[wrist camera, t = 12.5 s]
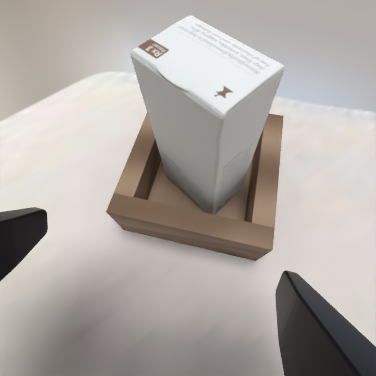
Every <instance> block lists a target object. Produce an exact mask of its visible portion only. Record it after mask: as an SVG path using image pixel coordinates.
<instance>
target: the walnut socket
mask: <svg viewBox="0 0 376 376" xmlns="http://www.w3.org/2000/svg"><path fill="white" fill-rule="evenodd" d="M282 127H283V116H280V115H274V114H268V117H267V119H266V122H265V125H264V127H263V130H262V133H261V136H260V138H259V141H258V144H257V147H256V150H255V152H254V155H253V158H252V161H251V164H250V166H249V169H248V172H247V175H246V177H245V180H244V183H243V186H242V188H241V189H240V190H239V191H238V192H237V193H236V194H235V195H234V196H233V197H232V198H231V199H230V200H229V201H228V202H227V203H226V204H225V205H224V206H223V207H222V208H221V209H220V210H219V211H218V212H217V213H216V214H215V215H213V214H209V213H206V212H205V211H204V210H203V209H202V208H201V207H199V206H198V205H197V204H196V203H195V202H194V201H193V200H192V199H191V198H190V197H189V196H188V195H187V194H186V193H185V192H183V191H182V190H181V189H180V188H179V187H178V186H177V185H176V184H175V183H174V182H173V181H172V180H171V179H170V178H169V177H167V176H166V173H165V170H164V166H163V163H162V159H161V156H160V153H159V149H158V146H157V143H156V139H155V136H154V132H153V129H152V126H151V122H150V119H149V116H148V112H147V114H146V117H145V119H144V122H143V124H142V127H141V129H140V131H139V134H138V136H137V139H136V141H135V143H134V146H133V148H132V151H131V153H130V155H129V158H128V160H127V163H126V165H125V168H124V170H123V172H122V175H121V177H120V180H119V182H118V184H117V187H116V189H115V192H114V194H113V197H112V199H111V201H110V204H109V206H108V209H107V211H106V212H107V213H108V214H109V215H110V216H111V217H112V218H113V219H114V220H115V221H116V222H117V223H118V224H119V225H120V226H121V227H122V228H123V229H124V230H128V231H132V232H137V233H141V234H145V235H149V236H154V237H158V238H162V239H166V240H170V241H175V242H179V243H183V244H187V245H192V246H196V247H200V248H204V249H209V250H213V251H217V252H221V253H225V254H230V255H234V256H238V257H242V258H247V259H251V260H255V261H256V260H258V259H259V258H261V257H262V256H264V255H265V254H267V253H269V252H270V251H272V250H273V239H274V226H275V214H276V201H277V189H278V176H279V164H280V151H281V139H282Z"/></svg>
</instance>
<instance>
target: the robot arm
mask: <svg viewBox="0 0 376 376" xmlns="http://www.w3.org/2000/svg"><path fill="white" fill-rule="evenodd" d="M47 229H48V225H47V212H46V211H45V210H44V209H40V208H36V207H33V208H26V209H19V210H12V211H6V212H0V281H1V280H2V279H3V278H4V277H5V276H6V275H8V274H9V273H10V272H11V271H12V270H13V269H14V268H15V267H16V266H17V265H18V264H19V263H20V262H21V261H22V260H23V259H24V258H25V256H26V255H27V254H28V253H29V252H30V251H31V250H32V249H33V248H34V247H35V245H36V244H37V243H38V242H39V241H40V240H41V239H42V238H43V237H44V236H45V234H46V233H47ZM276 311H277V326H278V339H279V346H280V352H281V358H282V364H283V369H284V375H285V376H376V347H375V346H374V345H373V344H372V343H371V342H370V341H369V340H368V339H367V338H366V337H365V336H364V335H363V334H361V333H360V332H359V331H358V330H357V329H356V328H355V327H354V326H353V325H352V324H351V323H350V322H349V321H348V320H347V319H345V318H344V317H343V316H342V315H341V314H340V313H339V312H338V311H337V310H336V309H335V308H334V307H333V306H332V305H330V304H329V303H328V302H327V301H326V300H325V299H324V298H323V297H322V296H321V295H320V294H319V293H318V292H317V291H315V290H314V289H313V288H312V287H311V286H310V285H309V284H308V283H307V282H306V281H305V280H304V279H303V278H302V277H300V276H299V275H298V274H297V273H294V272H290V271H284V272H283V273H282V276H281V278H280V281H279V283H278V286H277V289H276Z"/></svg>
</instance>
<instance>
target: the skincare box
mask: <svg viewBox="0 0 376 376" xmlns="http://www.w3.org/2000/svg"><path fill="white" fill-rule="evenodd" d="M131 58H132V61H133V65H134V68H135V71H136V75H137V79H138V82H139V85H140V89H141V92H142V95H143V99H144V102H145V105H146V109H147V112H148V116H149V119H150V122H151V126H152V129H153V132H154V136H155V139H156V143H157V146H158V149H159V153H160V156H161V159H162V163H163V166H164V170H165V173H166V176H167V177H169V178H170V179H171V180H172V181H173V182H174V183H175V184H176V185H177V186H178V187H179V188H180V189H181V190H182V191H183V192H185V193H186V194H187V195H188V196H189V197H190V198H191V199H192V200H193V201H194V202H195V203H196V204H197V205H198V206H199V207H201V208H202V209H203V210H204V211H205V212H206V213H209V214H213V215H215V214H216V213H217V212H218V211H219V210H220V209H221V208H222V207H223V206H224V205H225V204H226V203H227V202H228V201H229V200H230V199H231V198H232V197H233V196H234V195H235V194H236V193H237V192H238V191H239V190H240V189H241V188H242V186H243V183H244V180H245V177H246V175H247V172H248V169H249V166H250V164H251V161H252V158H253V155H254V152H255V150H256V147H257V144H258V141H259V138H260V136H261V133H262V130H263V127H264V125H265V122H266V119H267V117H268V114H269V111H270V108H271V104H272V101H273V99H274V96H275V94H276V91H277V88H278V86H279V83H280V80H281V77H282V75H283V71H284V66H283V65H282V64H280V63H278V62H276V61H274V60H272V59H270V58H269V57H266V56H265V55H263V54H261V53H259V52H257V51H256V50H254V49H252V48H250V47H248V46H246V45H245V44H243V43H241V42H239V41H237V40H235V39H233V38H232V37H230V36H228V35H226V34H224V33H222V32H221V31H219V30H217V29H215V28H213V27H211V26H210V25H208V24H206V23H204V22H202V21H200V20H198V19H197V18H195V17H193V16H192V15H191V16H188V17H186V18H184V19H182V20H180V21H178V22H177V23H175V24H173V25H172V26H170V27H169V28H167V29H165V30H164V31H162V32H161V33H159V34H158V35H156V36H154V37H153V38H151V39H150V40H148V41H146V42H145V43H143V44H142V45H140V46H138V47H137V48H135V49H133V50H132V51H131Z"/></svg>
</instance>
